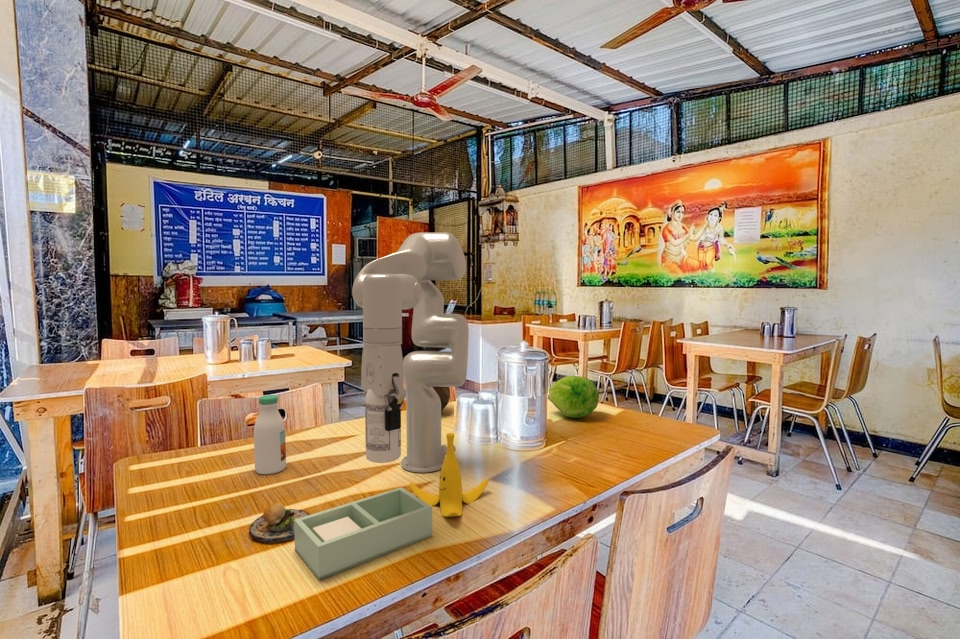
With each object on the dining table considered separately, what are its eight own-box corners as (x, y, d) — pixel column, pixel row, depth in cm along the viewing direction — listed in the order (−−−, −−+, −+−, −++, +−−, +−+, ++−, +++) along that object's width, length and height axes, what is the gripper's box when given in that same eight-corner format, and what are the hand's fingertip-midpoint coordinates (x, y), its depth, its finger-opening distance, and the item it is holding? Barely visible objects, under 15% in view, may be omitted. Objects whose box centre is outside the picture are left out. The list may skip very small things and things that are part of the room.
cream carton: (348, 536, 96) (347, 516, 96) (364, 551, 90) (363, 530, 90) (312, 548, 91) (312, 528, 91) (327, 565, 86) (327, 543, 86)
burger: (317, 535, 98) (316, 500, 97) (253, 554, 92) (252, 516, 91) (303, 510, 108) (302, 478, 107) (245, 525, 102) (243, 491, 101)
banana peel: (452, 529, 100) (452, 450, 99) (407, 497, 115) (406, 427, 114) (513, 507, 110) (513, 434, 109) (464, 479, 125) (464, 416, 124)
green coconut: (558, 408, 195) (558, 369, 194) (606, 416, 184) (607, 375, 182) (537, 417, 181) (537, 376, 180) (588, 427, 170) (589, 382, 168)
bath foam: (386, 449, 103) (385, 355, 101) (408, 457, 98) (407, 359, 97) (358, 458, 98) (357, 359, 96) (380, 466, 93) (379, 363, 92)
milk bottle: (274, 476, 126) (272, 400, 125) (248, 473, 128) (245, 399, 126) (291, 465, 134) (289, 393, 132) (266, 463, 136) (264, 392, 134)
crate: (401, 513, 106) (401, 487, 106) (432, 536, 97) (432, 506, 97) (294, 550, 92) (294, 519, 91) (319, 580, 83) (318, 546, 82)
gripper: (347, 334, 101) (348, 418, 102) (386, 342, 87) (387, 439, 88) (380, 332, 105) (380, 413, 107) (422, 339, 92) (422, 432, 93)
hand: (383, 424), depth 97 cm, fingers closed on bath foam, 7 cm apart
